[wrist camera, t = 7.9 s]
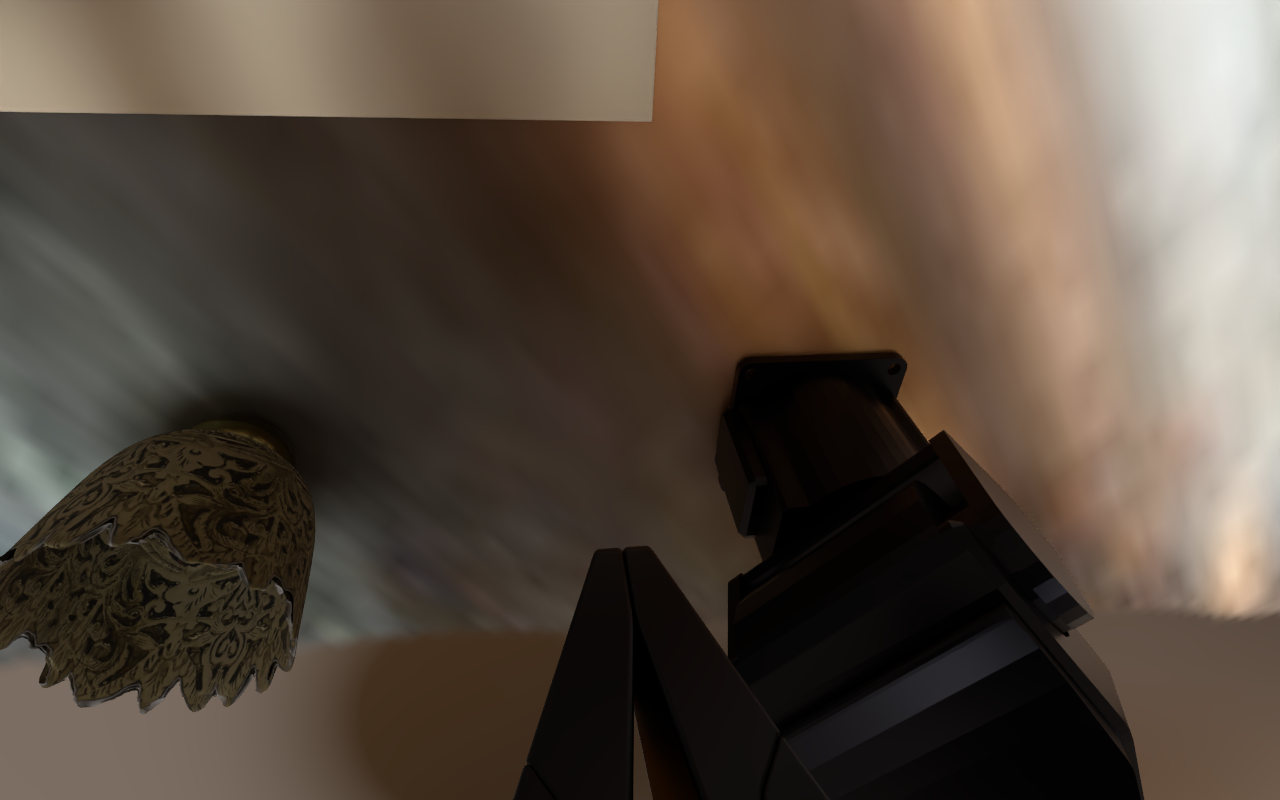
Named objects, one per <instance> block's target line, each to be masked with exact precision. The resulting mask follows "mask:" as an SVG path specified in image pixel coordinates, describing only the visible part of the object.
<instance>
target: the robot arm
mask: <svg viewBox="0 0 1280 800" xmlns="http://www.w3.org/2000/svg"><path fill="white" fill-rule="evenodd" d="M893 364H895V366H894V367H892V368H890V369H888V368H889V367H890V366H891V365H893ZM750 369H755V371H754V372H753V373H751V374H746V372H747V371H748V370H750ZM906 369H907V363H906V361H905V360H904V359H903V357H902V356H901V355H900V354H898V353H894V352H890V353H860V354H829V355H798V356H767V357H749V358H745V359H743V360H742V361H741V362H740V363H739V364H738V365H737V368H736V372H735V378H734V385H733V391H732V397H731V403H730V408H727V409H726V410H725V411H724V412H723V413H722V417H721V423H720V430H719V436H718V443H717V449H716V456H715V463H716V466H717V469H718V472H719V477H718V479H719V484H720V487H721V489H722V490H723V491H725V493H726V496H727V499H728V503H729V506H730V509H731V512H732V515H733V518H734V521H735V524H736V527H737V530H738V533H740V534H741V535H742V536H743V537H744V538H750V537H754V538H755V541H756V544H757V547H758V550H759V552H760V555H761V558H762V561H763V562H761V563H760V564H758V565H757V566H755V567H754V568H753V569H751V570H750V571H748V572H747V573H745V574H742V573H741V574H739V575H738V576H736V577H735V578H733V579H732V580H731V581H729V582H728V657H727V655H726V654H725V652H724V651H723V650H722V648H721V647H720V645H719V644H718V642H717V641H716V639H715V638H714V637H713V635H712V634H711V633H710V631H709V630H708V628H707V627H706V625H705V624H704V622H703V621H702V620H701V618H700V617H699V615H698V614H697V612H696V611H695V610H694V608H693V607H692V605H691V604H690V602H689V601H688V600H687V598H686V597H685V595H684V594H683V592H682V591H681V590H680V588H679V587H678V585H677V584H676V583H675V581H674V580H673V578H672V577H671V575H670V574H669V573H668V571H667V570H666V568H665V567H664V565H663V564H662V563H661V561H660V560H659V558H658V557H657V555H656V554H655V553H654V551H653V550H652V549H651V548H650V547H648V546H635V547H626V548H625V549H624V550H623V552H622V550H621V549H620V548H607V549H598V550H596V551H595V553H594V555H593V558H592V561H591V564H590V567H589V570H588V573H587V576H586V579H585V582H584V585H583V588H582V591H581V594H580V598H579V601H578V604H577V607H576V610H575V613H574V616H573V619H572V622H571V625H570V628H569V631H568V634H567V637H566V641H565V644H564V647H563V650H562V653H561V656H560V659H559V662H558V665H557V669H556V671H555V674H554V677H553V680H552V684H551V686H550V690H549V693H548V696H547V699H546V702H545V705H544V708H543V711H542V714H541V717H540V720H539V724H538V726H537V729H536V732H535V736H534V739H533V742H532V745H531V748H530V751H529V754H528V757H527V760H526V762H527V765H526V766H524V768H523V771H522V774H521V778H520V781H519V784H518V787H517V790H516V793H515V796H514V798H513V800H633V758H634V757H633V754H634V752H633V750H634V749H633V748H634V713H635V718H636V722H637V727H638V732H639V737H640V741H641V746H642V750H643V755H644V760H645V765H646V770H647V775H648V779H649V784H650V789H651V793H652V798H653V800H1144V796H1143V791H1142V785H1141V780H1140V774H1139V769H1138V763H1137V758H1136V753H1135V747H1134V742H1133V738H1132V735H1131V732H1130V729H1129V726H1128V723H1127V720H1126V717H1125V715H1124V711H1123V709H1122V706H1121V703H1120V700H1119V697H1118V694H1117V691H1116V688H1115V685H1114V682H1113V679H1112V677H1111V674H1110V671H1109V670H1108V668H1107V667H1106V665H1105V663H1104V662H1103V661H1102V660H1101V658H1100V657H1099V656H1098V655H1097V654H1096V652H1095V651H1094V650H1093V648H1092V647H1091V646H1090V645H1089V644H1088V642H1087V641H1086V640H1085V639H1084V637H1083V636H1082V635H1081V634H1080V633H1079V631H1078V630H1077V629H1076V628H1077V627H1079V626H1081V625H1083V624H1085V623H1086V622H1088V621H1090V620H1092V619H1094V618H1095V615H1094V613H1093V611H1092V609H1091V608H1090V606H1089V604H1088V603H1087V601H1086V599H1085V598H1084V596H1083V594H1082V593H1081V591H1080V589H1079V588H1078V586H1077V584H1076V583H1075V581H1074V579H1073V578H1072V576H1071V574H1070V573H1069V571H1068V569H1067V568H1066V566H1065V564H1064V563H1063V561H1062V559H1061V558H1060V556H1059V555H1058V553H1057V552H1056V550H1055V549H1054V548H1053V547H1052V545H1051V544H1050V543H1049V542H1048V541H1047V539H1046V538H1045V537H1044V536H1043V535H1042V533H1041V532H1040V531H1039V530H1038V529H1037V528H1036V526H1035V525H1034V524H1033V523H1032V522H1031V520H1030V519H1029V518H1028V517H1027V516H1026V514H1025V513H1024V512H1023V511H1022V510H1021V509H1020V507H1019V506H1018V505H1017V504H1016V503H1015V501H1014V500H1013V499H1012V498H1011V497H1010V496H1009V495H1008V494H1007V493H1006V492H1005V491H1004V490H1003V489H1002V488H1001V487H1000V486H999V485H998V484H997V483H996V482H995V481H994V480H993V479H992V478H991V477H990V476H989V475H988V474H987V473H986V472H985V471H984V470H983V469H982V468H981V467H980V466H979V465H978V464H977V463H976V462H975V461H974V460H973V459H972V458H971V457H970V456H969V455H968V454H967V453H966V451H965V450H964V449H963V448H962V447H961V446H960V445H959V444H958V443H957V442H956V441H955V440H954V439H953V438H952V437H951V436H950V435H949V434H948V433H947V432H946V431H944V430H943V431H941V432H940V433H939V434H937V435H936V436H934V437H933V438H932V439H930V440H929V442H930V444H929V442H928V441H927V440H926V438H925V437H924V436H923V434H922V433H921V431H920V430H919V429H918V427H917V426H916V425H915V423H914V422H913V421H912V419H911V418H910V417H909V415H908V414H907V412H906V411H905V410H904V408H903V407H902V406H901V404H900V403H899V402H898V400H897V399H896V398H897V395H898V392H899V389H900V386H901V384H902V381H903V378H904V375H905V372H906Z"/></svg>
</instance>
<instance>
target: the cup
mask: <svg viewBox="0 0 1280 800" xmlns="http://www.w3.org/2000/svg"><path fill="white" fill-rule="evenodd" d="M314 542H315V511H314V507H313V502H312V498H311V495H310V493H309V490H308V488H307V486H306V484H305V483H304V481H303V479H302V477H301V476H300V475H299V473H298V472H297V470H296V463H295V457H294V452H293V449H292V447H291V445H290V443H289V441H288V440H287V439H286V437H285V436H284V435H283V434H282V433H281V432H280V431H279V430H277V429H276V428H275V427H273V426H272V425H270V424H268V423H266V422H264V421H262V420H259V419H256V418H253V417H250V416H245V415H237V414H226V415H219V416H214V417H211V418H208V419H206V420H203V421H201V422H199V423H197V424H196V425H194V426H192V427H191V428H189V429H188V430H180V431H173V432H169V433H164V434H160V435H156V436H153V437H150V438H147V439H145V440H142V441H140V442H138V443H136V444H134V445H131V446H129V447H127V448H125V449H124V450H122V451H121V452H119V453H118V454H116V455H115V456H113V457H112V458H110V459H109V460H107V461H106V462H104V463H103V464H102V465H101V466H99V467H98V468H97V469H95V470H94V471H93V472H92V473H90V474H89V475H88V476H87V477H86V478H85V479H84V480H83V481H81V482H80V483H79V484H78V485H77V486H76V487H75V488H74V489H73V490H72V491H70V492H69V493H68V494H67V495H66V496H65V497H64V498H63V499H62V500H61V501H60V502H59V503H58V504H57V505H55V506H54V507H53V508H52V509H51V510H50V511H49V512H48V513H47V514H46V515H45V516H44V517H43V518H42V519H41V520H40V521H39V522H38V523H37V524H36V525H34V526H33V527H32V528H31V529H30V530H29V531H28V532H27V533H26V534H25V535H24V536H23V537H22V538H21V539H20V540H19V541H18V542H17V543H16V544H15V545H14V546H13V547H12V548H11V549H10V550H9V551H8V552H6V553H5V554H4V555H3V556H1V557H0V650H2V649H4V648H7V647H8V646H10V644H11V643H12V642H13V641H15V640H16V639H18V638H21V637H24V638H26V639H28V641H29V648H31V649H40V650H41V651H42V652H44V651H43V650H42V649H44V650H45V651H46V657H45V661H46V664H45V667H44V669H43V672H42V673H41V676H40V679H39V683H40V685H41V686H42V687H43V688H48V687H50V686H53V685H55V684H57V683H60V682H62V681H64V679H65V678H66V677H67V676H68V678H69V680H70V688H71V690H72V693H73V696H74V698H73V700H74V702H75V703H76V704H77V705H78V706H79V707H81V708H82V707H93V706H96V705H98V704H101V703H103V702H106V701H109V700H113V699H115V698H116V697H119V696H121V695H122V694H124V693H126V692H130V691H133V690H137V691H138V697H137V699H138V700H137V701H138V702H139V708H140V713H141V714H145V713H147V712H148V711H150V710H151V709H153V708H154V707H155V706H156V705H158V704H159V703H160V702H162V701H163V700H164V699H165V697H166V695H167V694H168V692H169V691H170V690H171V689H172V688H173V687H174V686H175V684H176V683H177V682H179V681H180V690H181V693H182V697H184V699H185V702H186V704H187V706H188V708H189V709H190V710H191V711H192V712H196V711H199V710H201V709H202V708H204V707H205V705H206V704H207V703H208V701H209V700H210V699H211V697H212V696H215V697H216V696H217V694H218V695H219V696H218V697H219V698H220V700H221V701H222V703H223V705H224V706H225V707H228V706H230V705H231V704H233V703H234V702H235V701H236V700H237V699H238V698H239V697H240V696H241V695H242V693H243V692H244V690H245V689H246V688H247V686H248V685H249V683H250V682H251V680H252V678H253V677H255V676H254V674H255V672H256V680H255V681H256V692H258V693H260V694H261V693H262V692H264V691H265V690H266V689H267V688H268V687H269V686H270V684H271V682H272V679H273V676H274V673H275V671H276V668H277V666H279V668H280V669H281V670H283V671H285V672H288V671H290V670H291V668H292V666H293V662H294V658H295V653H296V646H297V639H298V634H299V629H300V624H301V619H302V614H303V608H304V603H305V598H306V592H307V587H308V581H309V576H310V570H311V564H312V557H313V550H314ZM22 634H25V635H26V636H27V637H28V638H27V637H25V636H20V635H22ZM40 647H42V649H41V648H40ZM44 653H45V652H44ZM132 688H133V689H132ZM137 688H139V690H138V689H137ZM129 689H130V690H129ZM126 690H127V691H126Z"/></svg>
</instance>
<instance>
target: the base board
mask: <svg viewBox="0 0 1280 800" xmlns="http://www.w3.org/2000/svg"><path fill="white" fill-rule="evenodd" d="M657 19H658V0H0V112H61V113H125V114H188V115H252V116H316V117H380V118H443V119H507V120H571V121H634V122H652V112H653V93H654V75H655V56H656V37H657Z"/></svg>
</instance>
